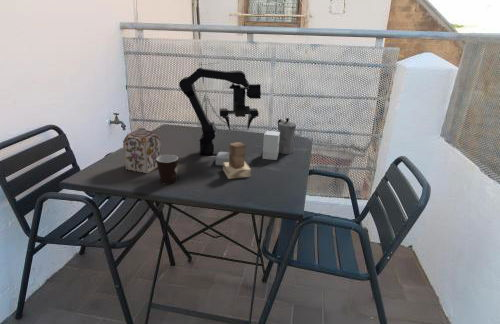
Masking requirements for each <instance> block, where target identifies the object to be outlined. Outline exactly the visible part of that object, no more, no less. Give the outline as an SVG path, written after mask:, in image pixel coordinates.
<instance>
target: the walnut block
mask: <svg viewBox="0 0 500 324" xmlns="http://www.w3.org/2000/svg"><path fill="white" fill-rule="evenodd" d="M245 158H246V144H244V143H243V142H240V141H236V142H232V143H229V165H230V166H231V167H233V168H235V169H236V168H240V167H243V166H244V161H245V162H246V159H245Z"/></svg>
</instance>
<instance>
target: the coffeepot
mask: <svg viewBox="0 0 500 324" xmlns="http://www.w3.org/2000/svg"><path fill="white" fill-rule="evenodd" d="M296 128H297V124H296V122H292V121H290V118H289V117H286V118H285V121H284V119H278V121H277V130H278V131H277V132H280V139H279V152H278V154H283V155H291V154H293V153H294V151H295V150H294V140H293V138H294V136H295V132H296Z"/></svg>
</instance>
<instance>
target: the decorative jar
mask: <svg viewBox="0 0 500 324" xmlns="http://www.w3.org/2000/svg"><path fill="white" fill-rule="evenodd" d="M122 145H123V156H124V164H125V169H126V170H127V169H128V170H127V171H131V170H132V171H133V172H136V171H137V173H142V172H143V173H142V174H149V173H151V172H152V171H154V170H156V169H157V168H158V165H157V160H156V158H157V157H159V156H162V155H163V154H162V145H161V137H160V136H159V135H158V134H157V133H156V132H154V131H153V130H147V128H145V127H139V128H135V129H134V130H133V131H131V132H128V133H127V134H126V136H125V138H124V139H123V141H122ZM150 171H151V172H150Z"/></svg>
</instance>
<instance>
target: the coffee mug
mask: <svg viewBox="0 0 500 324" xmlns="http://www.w3.org/2000/svg"><path fill="white" fill-rule="evenodd" d="M156 160H157V165H158V167H157V168H158V174H159V181H160V183H161V182H162V183H161V184H163V183H165V184H164V185H172V184H175V183H176V182H177V180H178V177H177V176H178V165H179V164H178V163H179V157H178V156H177V155H175V154H162V156H159V157H157V158H156ZM174 182H175V183H174ZM171 183H172V184H171Z"/></svg>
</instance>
